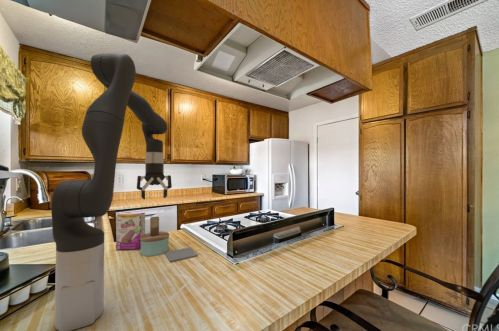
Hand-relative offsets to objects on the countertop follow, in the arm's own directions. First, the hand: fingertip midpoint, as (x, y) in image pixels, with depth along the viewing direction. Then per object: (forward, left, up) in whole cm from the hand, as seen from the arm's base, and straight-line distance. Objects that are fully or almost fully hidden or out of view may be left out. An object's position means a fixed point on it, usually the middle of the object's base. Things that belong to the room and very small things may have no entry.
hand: (154, 198), depth 95 cm
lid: (0, 0, -17) cm, 17 cm away
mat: (-11, -9, -23) cm, 27 cm away
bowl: (0, 0, -23) cm, 23 cm away
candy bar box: (+10, +9, -24) cm, 27 cm away
